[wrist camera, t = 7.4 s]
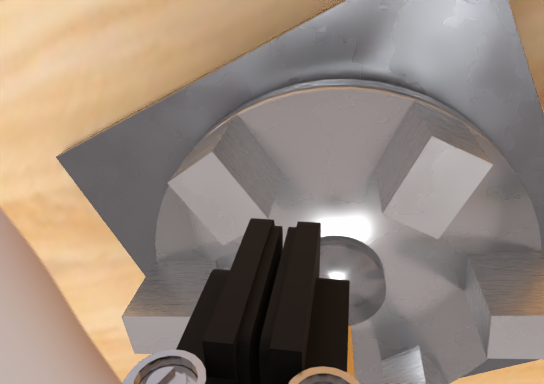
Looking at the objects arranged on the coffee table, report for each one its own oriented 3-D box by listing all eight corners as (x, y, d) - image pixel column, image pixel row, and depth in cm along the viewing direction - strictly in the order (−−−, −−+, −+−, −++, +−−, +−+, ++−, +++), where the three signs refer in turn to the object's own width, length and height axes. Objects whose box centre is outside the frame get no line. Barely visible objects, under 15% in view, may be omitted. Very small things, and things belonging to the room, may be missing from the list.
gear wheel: (128, 97, 24) (61, 144, 18) (552, 57, 20) (633, 100, 15) (203, 374, 33) (173, 464, 27) (507, 381, 29) (547, 486, 24)
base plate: (479, -74, 20) (486, -75, 19) (604, 330, 28) (614, 344, 27) (65, 150, 28) (53, 158, 26) (259, 413, 36) (257, 427, 35)
